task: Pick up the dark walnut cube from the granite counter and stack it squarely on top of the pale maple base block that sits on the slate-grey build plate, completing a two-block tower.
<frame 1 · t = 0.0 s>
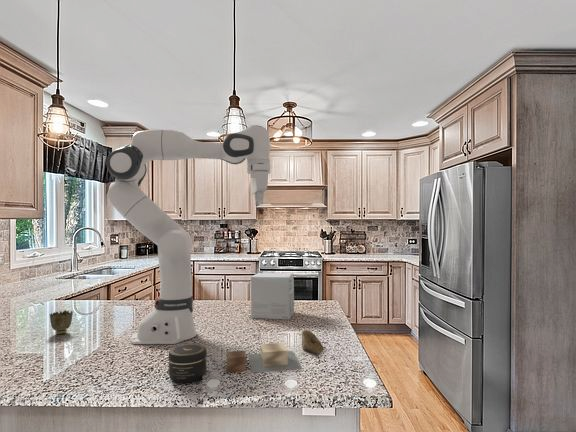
hand: (259, 204, 142), 48 cm above the counter, fingers open, 8 cm apart
fossil: (312, 353, 118), on the counter
build plate: (274, 364, 108), on the counter
jar: (187, 378, 100), on the counter
walnut cube: (236, 372, 103), on the counter
supplement box: (273, 315, 165), on the counter
maple base: (273, 361, 108), point 1 cm above the counter, touching build plate
cup: (61, 334, 140), on the counter
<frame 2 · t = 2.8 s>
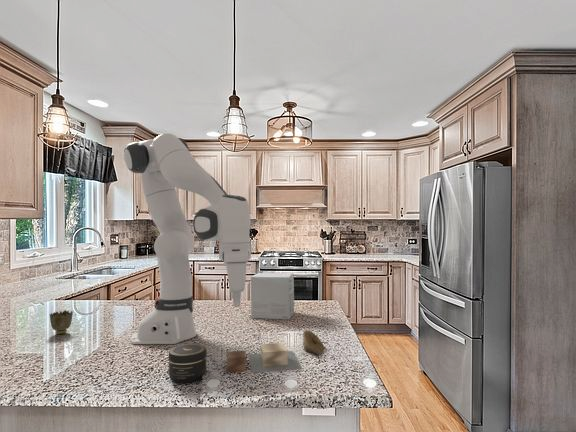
hand: (236, 302, 104), 19 cm above the counter, fingers open, 8 cm apart
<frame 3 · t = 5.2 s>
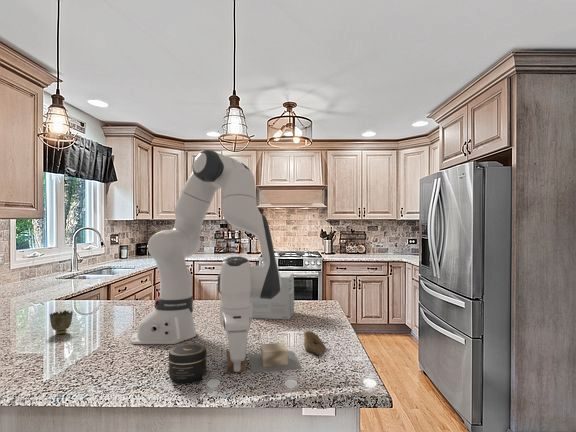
hand: (236, 365, 103), 2 cm above the counter, fingers closed on walnut cube, 5 cm apart
walnut cube: (236, 371, 103), on the counter, touching gripper
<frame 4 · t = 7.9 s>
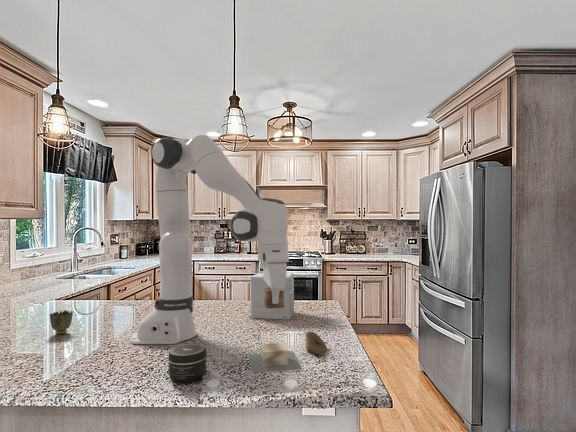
hand: (273, 300, 109), 19 cm above the counter, fingers closed on walnut cube, 5 cm apart
walnut cube: (273, 306, 109), point 17 cm above the counter, touching gripper
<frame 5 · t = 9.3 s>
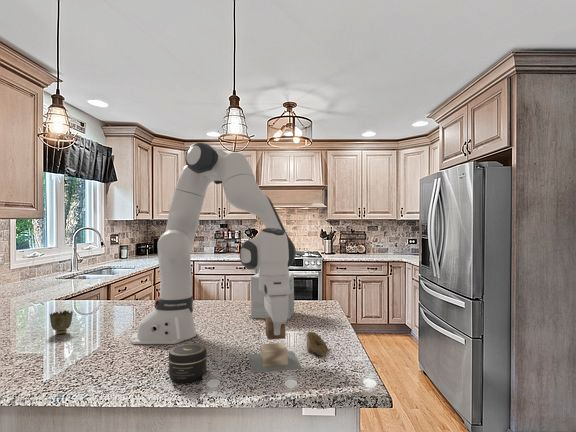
hand: (274, 331, 109), 10 cm above the counter, fingers closed on walnut cube, 5 cm apart
walnut cube: (275, 336, 109), point 8 cm above the counter, touching gripper
when the fingers open (8 cm above the counter, at t = 10.6 s): walnut cube drops 1 cm, resting on maple base.
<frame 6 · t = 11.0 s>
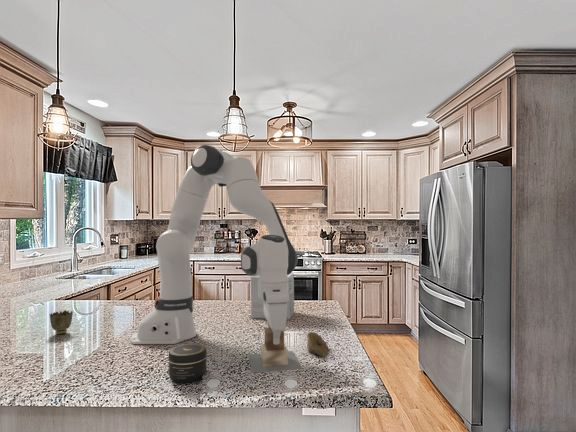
hand: (273, 338, 109), 8 cm above the counter, fingers open, 8 cm apart
walnut cube: (274, 347, 109), point 5 cm above the counter, touching maple base
maple base: (273, 361, 108), point 1 cm above the counter, touching build plate, walnut cube
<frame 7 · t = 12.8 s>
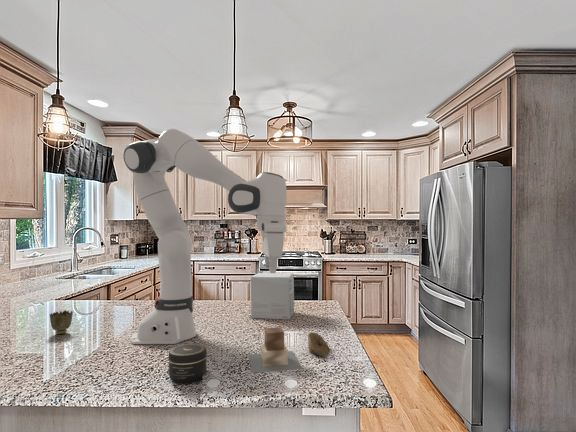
hand: (270, 270, 114), 27 cm above the counter, fingers open, 8 cm apart
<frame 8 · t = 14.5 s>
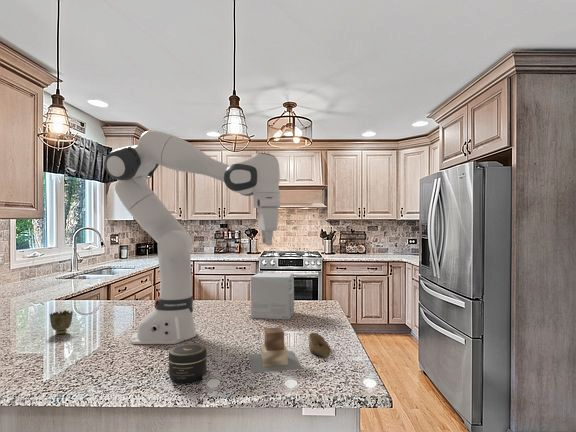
hand: (267, 244, 123), 34 cm above the counter, fingers open, 8 cm apart
at the end: walnut cube 0.1 cm off-centre on the maple base, point 4.0 cm above the maple base's base; walnut cube tilted 0°; maple base moved 0.0 cm from its start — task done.
